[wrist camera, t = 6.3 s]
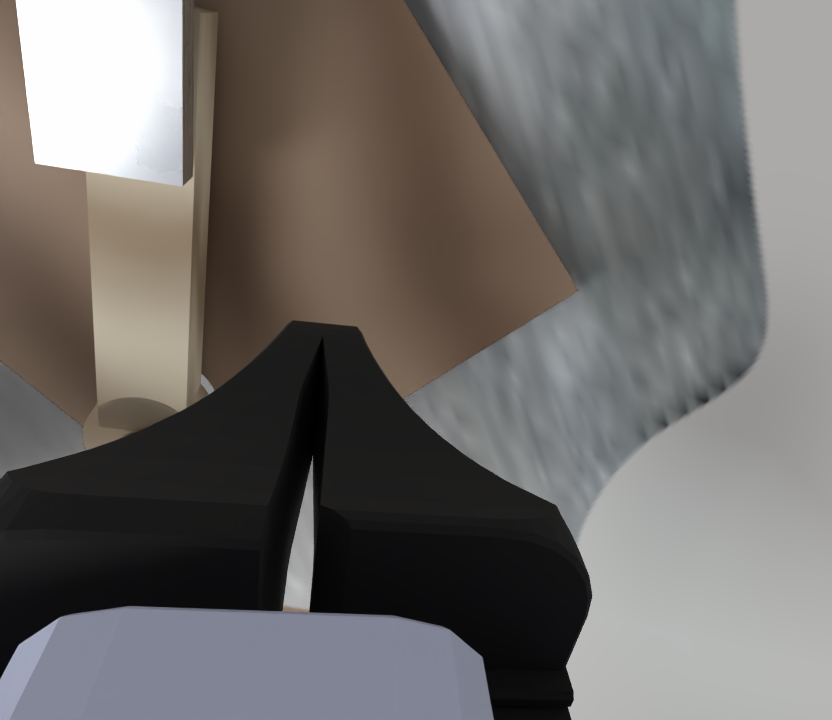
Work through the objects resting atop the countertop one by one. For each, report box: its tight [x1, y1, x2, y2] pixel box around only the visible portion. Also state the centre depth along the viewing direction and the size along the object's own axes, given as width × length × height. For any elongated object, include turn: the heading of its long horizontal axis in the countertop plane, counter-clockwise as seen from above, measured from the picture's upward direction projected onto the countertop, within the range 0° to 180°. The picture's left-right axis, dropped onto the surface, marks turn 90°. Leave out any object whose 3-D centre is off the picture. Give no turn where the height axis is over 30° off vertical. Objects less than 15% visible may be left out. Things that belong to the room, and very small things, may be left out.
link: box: [82, 7, 218, 450], centre depth 18 cm, size 14×4×2 cm, turn 168°
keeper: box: [16, 0, 215, 439], centre depth 17 cm, size 17×4×4 cm, turn 169°
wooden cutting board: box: [0, 0, 579, 426], centre depth 19 cm, size 17×20×1 cm
